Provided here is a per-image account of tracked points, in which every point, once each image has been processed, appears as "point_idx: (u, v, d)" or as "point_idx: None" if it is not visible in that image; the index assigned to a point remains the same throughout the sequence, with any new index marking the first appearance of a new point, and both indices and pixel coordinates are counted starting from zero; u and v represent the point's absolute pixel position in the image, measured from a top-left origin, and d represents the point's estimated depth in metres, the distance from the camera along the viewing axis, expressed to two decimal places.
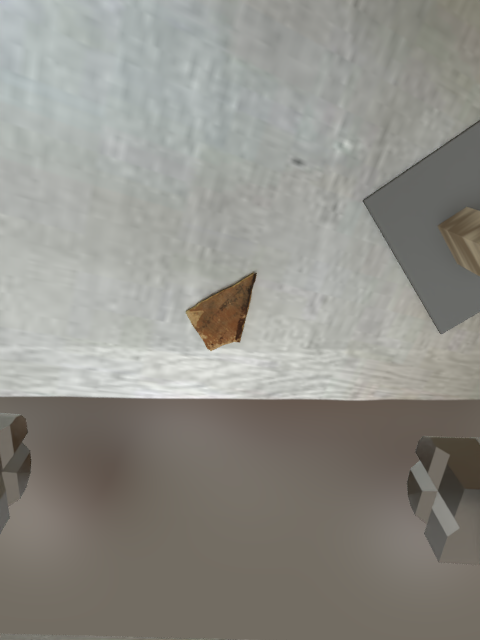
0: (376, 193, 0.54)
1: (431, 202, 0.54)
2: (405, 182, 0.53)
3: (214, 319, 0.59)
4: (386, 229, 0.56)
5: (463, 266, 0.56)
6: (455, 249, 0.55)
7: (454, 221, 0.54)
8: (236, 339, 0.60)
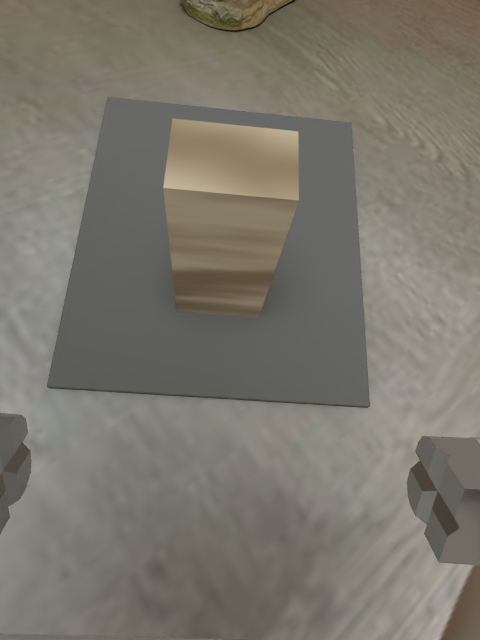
0: (54, 361, 0.30)
1: (136, 300, 0.32)
2: (76, 315, 0.32)
3: None
4: (119, 381, 0.30)
5: (258, 307, 0.31)
6: (219, 303, 0.31)
7: None
8: None
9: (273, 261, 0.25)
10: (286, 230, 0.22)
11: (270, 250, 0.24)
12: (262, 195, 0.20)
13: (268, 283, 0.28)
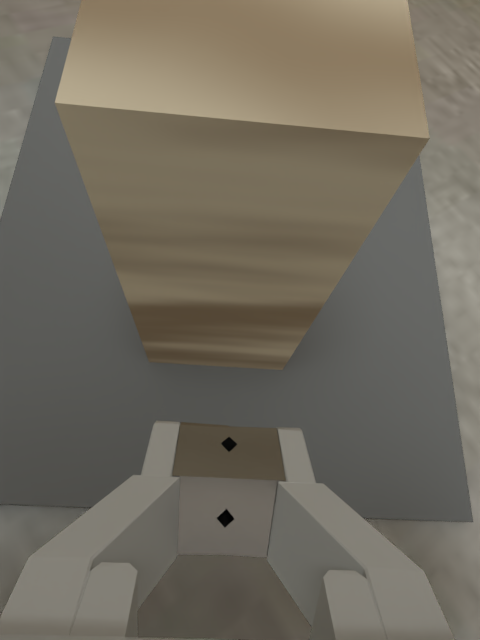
0: None
1: (83, 344, 0.20)
2: None
3: None
4: (49, 488, 0.18)
5: (284, 357, 0.18)
6: (219, 351, 0.18)
7: None
8: None
9: (326, 287, 0.12)
10: (370, 223, 0.10)
11: (323, 266, 0.11)
12: (329, 124, 0.07)
13: (308, 324, 0.15)
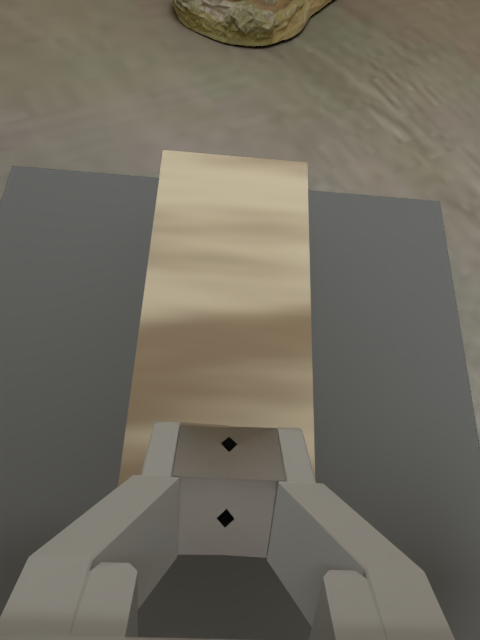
0: None
1: None
2: None
3: None
4: None
5: None
6: None
7: None
8: None
9: (304, 279, 0.16)
10: (305, 210, 0.18)
11: (293, 253, 0.17)
12: (267, 160, 0.19)
13: (308, 351, 0.15)
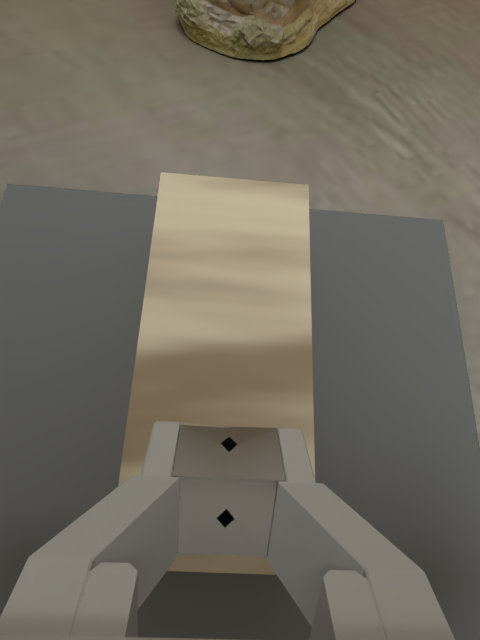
0: None
1: None
2: None
3: None
4: None
5: None
6: None
7: None
8: None
9: (305, 308, 0.16)
10: (307, 235, 0.17)
11: (294, 280, 0.16)
12: (268, 183, 0.18)
13: (309, 383, 0.15)
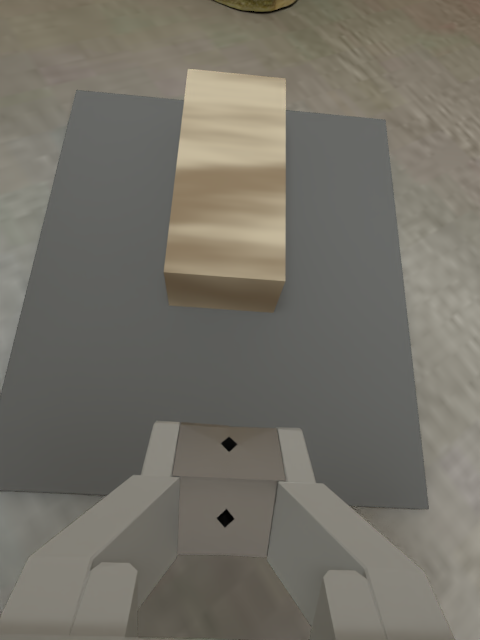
0: None
1: (106, 360, 0.24)
2: (23, 383, 0.23)
3: None
4: (80, 479, 0.22)
5: (281, 248, 0.23)
6: (228, 239, 0.23)
7: None
8: None
9: (281, 148, 0.25)
10: (284, 107, 0.26)
11: (275, 132, 0.26)
12: (259, 77, 0.27)
13: (283, 187, 0.24)
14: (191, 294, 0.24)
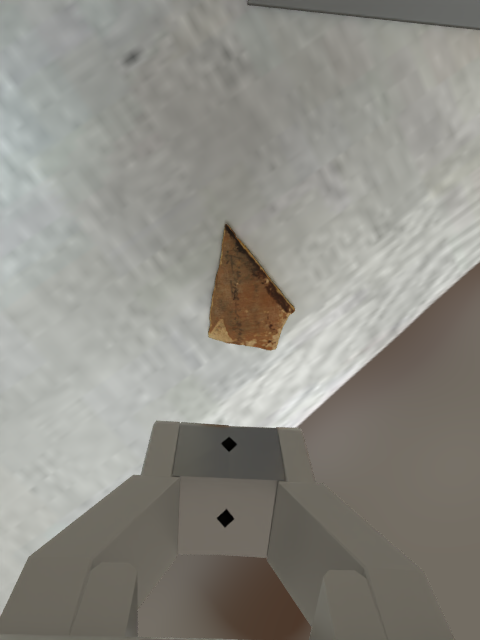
0: None
1: None
2: None
3: (241, 315, 0.40)
4: None
5: None
6: None
7: None
8: (287, 311, 0.41)
9: None
10: None
11: None
12: None
13: None
14: None
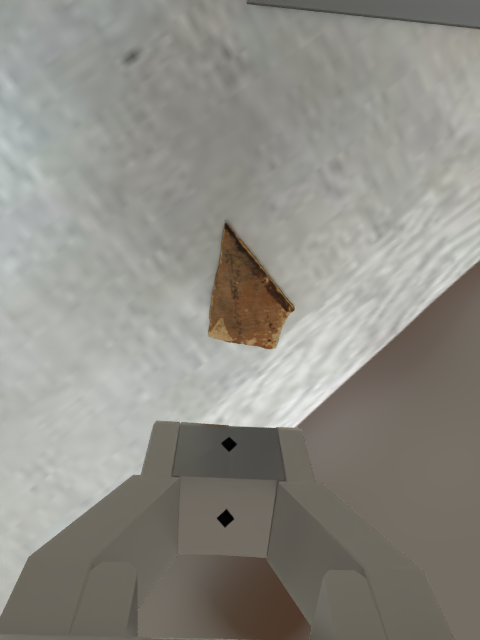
0: None
1: None
2: None
3: (241, 314, 0.40)
4: None
5: None
6: None
7: None
8: (287, 310, 0.41)
9: None
10: None
11: None
12: None
13: None
14: None
